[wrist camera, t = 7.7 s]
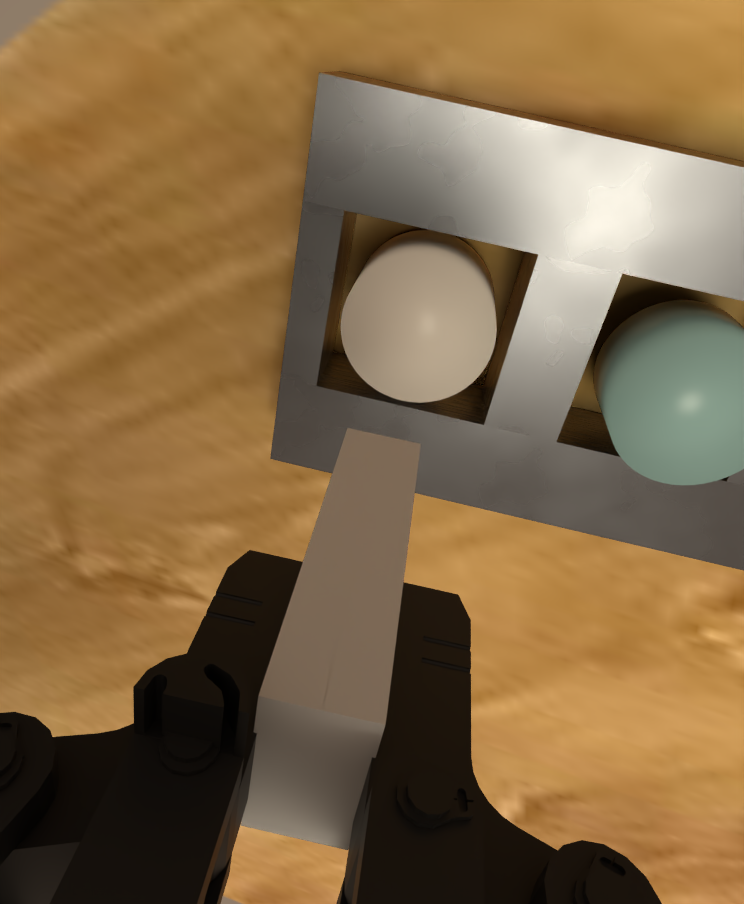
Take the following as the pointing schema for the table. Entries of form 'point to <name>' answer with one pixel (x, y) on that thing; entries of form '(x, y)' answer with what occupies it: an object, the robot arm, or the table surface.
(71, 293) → the table surface
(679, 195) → the panel
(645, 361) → the button teal
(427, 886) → the robot arm
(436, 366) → the button ivory
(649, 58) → the table surface
